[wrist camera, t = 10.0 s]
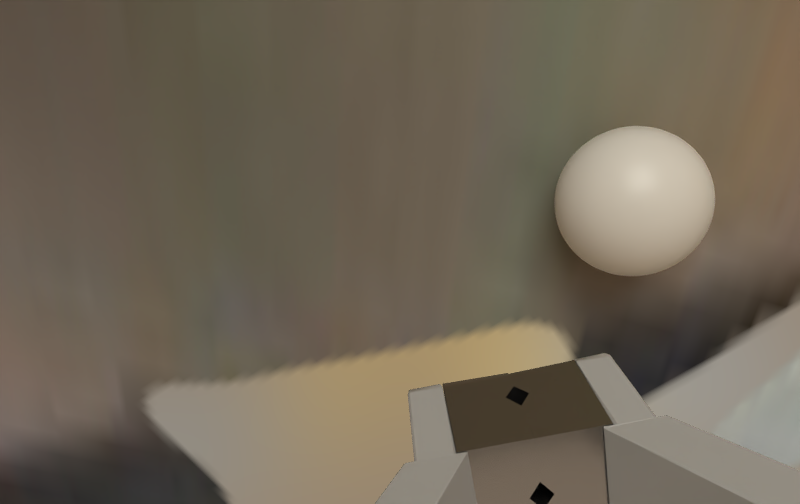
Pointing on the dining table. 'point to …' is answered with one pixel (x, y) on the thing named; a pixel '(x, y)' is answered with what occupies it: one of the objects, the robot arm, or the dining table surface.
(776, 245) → the dining table surface
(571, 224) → the cue ball
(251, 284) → the dining table surface
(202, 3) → the dining table surface
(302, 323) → the dining table surface
